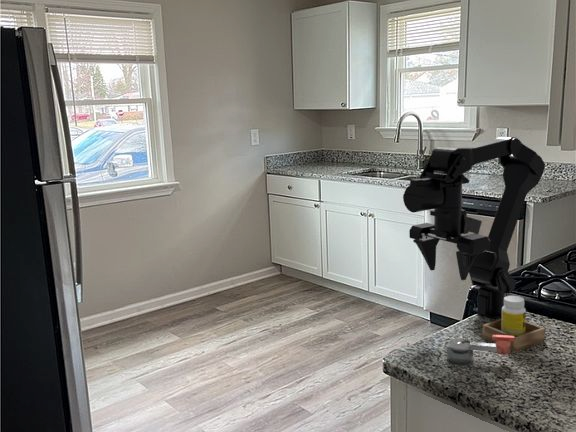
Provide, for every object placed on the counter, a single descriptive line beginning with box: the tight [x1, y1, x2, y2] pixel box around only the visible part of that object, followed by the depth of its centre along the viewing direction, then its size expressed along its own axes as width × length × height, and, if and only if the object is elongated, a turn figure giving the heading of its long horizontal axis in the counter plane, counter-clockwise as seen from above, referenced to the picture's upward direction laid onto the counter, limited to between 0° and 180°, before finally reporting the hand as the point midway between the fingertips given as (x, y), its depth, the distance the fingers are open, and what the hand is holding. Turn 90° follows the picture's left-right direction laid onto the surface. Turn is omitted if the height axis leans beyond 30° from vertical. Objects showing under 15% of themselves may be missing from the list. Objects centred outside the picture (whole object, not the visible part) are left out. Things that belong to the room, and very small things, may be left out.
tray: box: [482, 318, 546, 353], centre depth 119 cm, size 9×9×3 cm
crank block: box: [446, 346, 474, 366], centre depth 112 cm, size 5×5×2 cm
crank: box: [449, 335, 514, 356], centre depth 110 cm, size 12×4×3 cm, turn 74°
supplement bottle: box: [501, 295, 527, 337], centre depth 119 cm, size 5×5×8 cm
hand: (447, 274), depth 125 cm, fingers open, 9 cm apart
